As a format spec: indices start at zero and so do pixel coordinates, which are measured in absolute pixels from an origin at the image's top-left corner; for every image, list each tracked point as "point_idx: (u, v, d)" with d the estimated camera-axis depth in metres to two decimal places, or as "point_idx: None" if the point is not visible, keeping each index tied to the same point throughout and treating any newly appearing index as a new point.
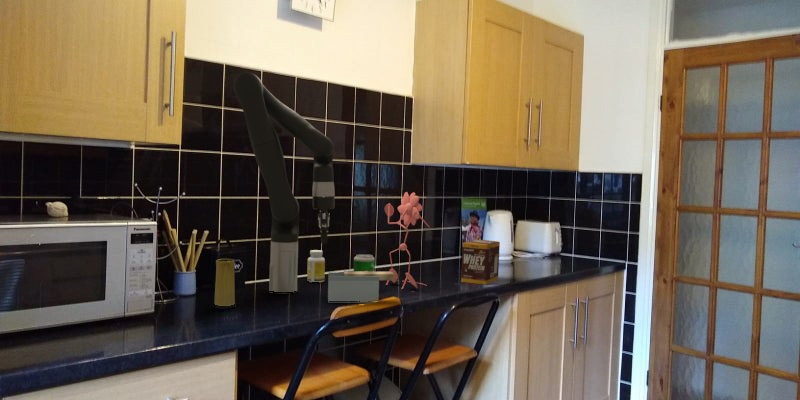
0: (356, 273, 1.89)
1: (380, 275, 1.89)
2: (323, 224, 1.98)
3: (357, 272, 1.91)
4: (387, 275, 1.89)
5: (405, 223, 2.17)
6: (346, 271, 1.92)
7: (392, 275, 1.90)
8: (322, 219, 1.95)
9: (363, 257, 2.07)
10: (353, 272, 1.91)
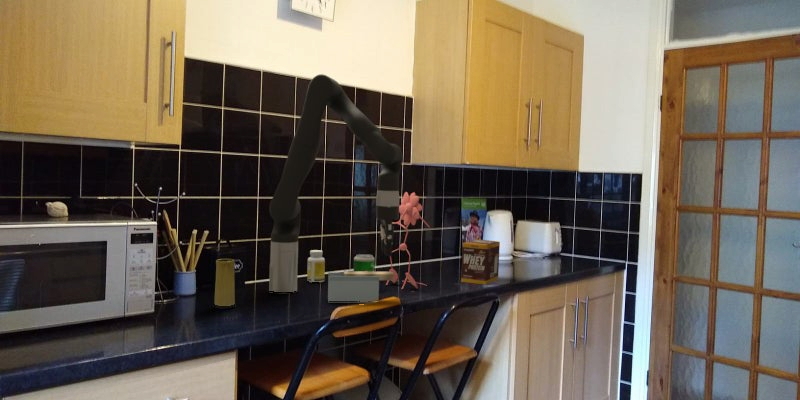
0: (356, 273, 1.89)
1: (380, 275, 1.89)
2: (388, 235, 1.87)
3: (357, 272, 1.91)
4: (387, 275, 1.89)
5: (405, 223, 2.17)
6: (346, 271, 1.92)
7: (392, 275, 1.90)
8: (388, 230, 1.84)
9: (363, 257, 2.07)
10: (353, 272, 1.91)
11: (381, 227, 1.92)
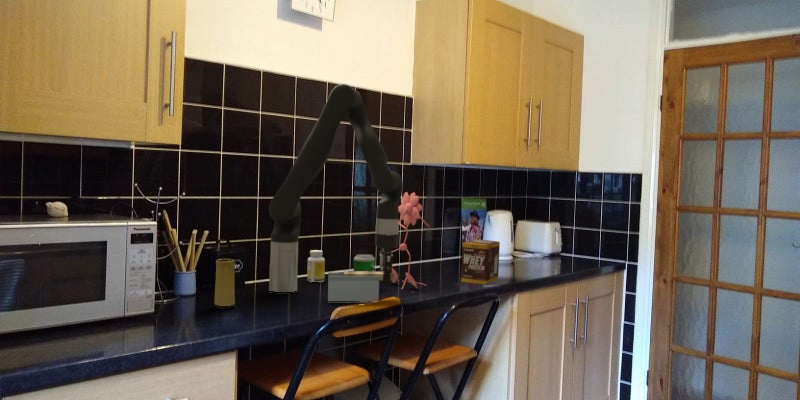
0: (356, 273, 1.89)
1: (380, 275, 1.89)
2: None
3: (357, 272, 1.91)
4: None
5: (405, 223, 2.17)
6: (346, 271, 1.92)
7: (392, 275, 1.90)
8: (386, 262, 1.85)
9: (363, 257, 2.07)
10: (353, 272, 1.91)
11: (380, 254, 1.92)
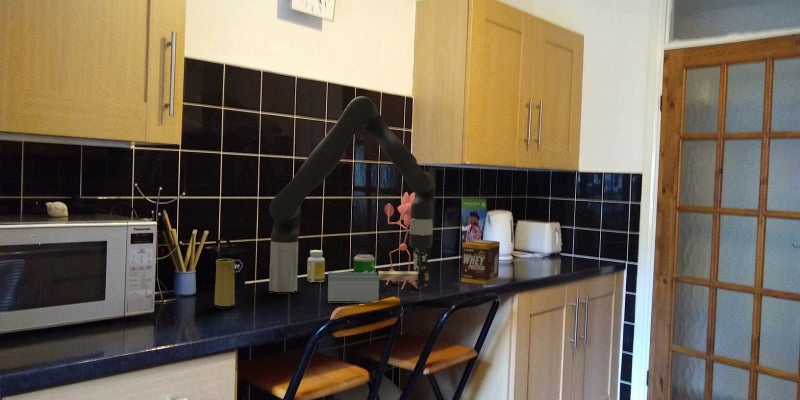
0: (391, 273, 1.91)
1: (415, 275, 1.91)
2: None
3: (392, 272, 1.93)
4: None
5: (405, 223, 2.17)
6: (380, 271, 1.94)
7: (426, 275, 1.91)
8: (422, 262, 1.87)
9: (363, 257, 2.07)
10: (388, 272, 1.92)
11: (414, 254, 1.94)
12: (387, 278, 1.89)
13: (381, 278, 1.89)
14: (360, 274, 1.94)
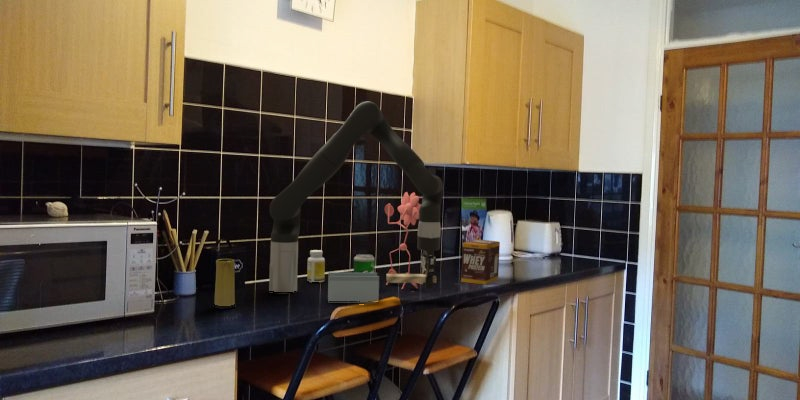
0: (399, 276, 1.91)
1: (423, 277, 1.91)
2: None
3: (399, 274, 1.93)
4: None
5: (405, 223, 2.17)
6: (388, 274, 1.94)
7: (434, 277, 1.92)
8: (430, 265, 1.87)
9: (363, 257, 2.07)
10: (396, 275, 1.93)
11: (422, 257, 1.94)
12: (395, 281, 1.90)
13: (389, 281, 1.90)
14: (360, 274, 1.94)
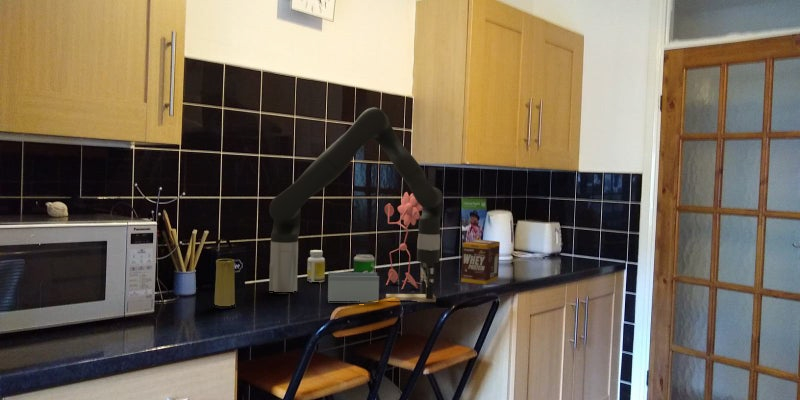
0: (398, 296, 1.92)
1: (422, 298, 1.92)
2: None
3: (399, 295, 1.94)
4: None
5: (405, 223, 2.17)
6: (388, 294, 1.95)
7: (434, 298, 1.92)
8: (430, 274, 1.87)
9: (363, 257, 2.07)
10: (395, 295, 1.93)
11: (422, 269, 1.94)
12: None
13: None
14: (360, 274, 1.94)
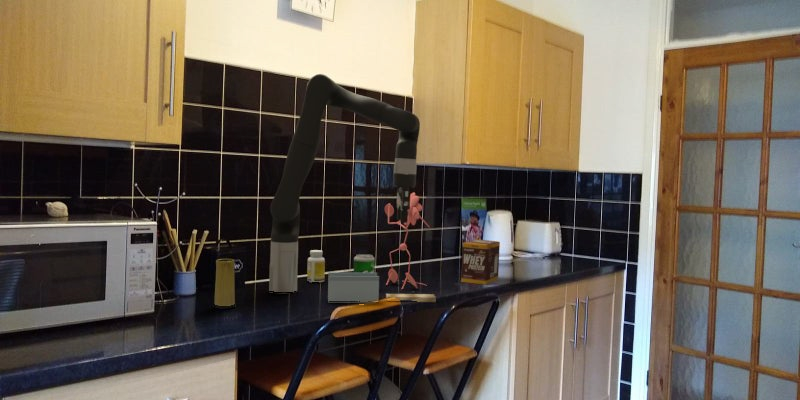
0: (398, 296, 1.92)
1: (422, 298, 1.91)
2: (404, 202, 1.91)
3: (399, 295, 1.94)
4: (429, 298, 1.92)
5: (405, 223, 2.17)
6: (388, 294, 1.95)
7: (434, 298, 1.92)
8: (404, 197, 1.88)
9: (363, 257, 2.07)
10: (395, 295, 1.93)
11: (397, 195, 1.95)
12: None
13: None
14: (360, 274, 1.94)
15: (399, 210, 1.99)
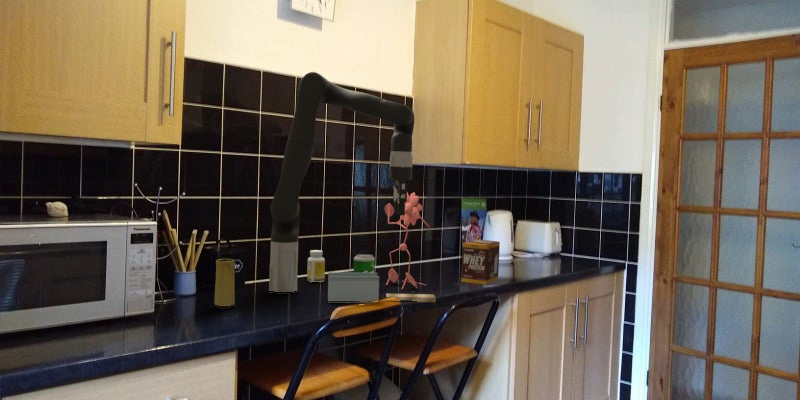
0: (398, 296, 1.92)
1: (422, 298, 1.91)
2: (401, 195, 1.91)
3: (399, 295, 1.94)
4: (428, 298, 1.92)
5: (405, 223, 2.17)
6: None
7: (433, 298, 1.92)
8: (401, 189, 1.88)
9: (363, 257, 2.07)
10: (395, 295, 1.94)
11: (394, 188, 1.96)
12: None
13: None
14: (360, 274, 1.94)
15: (396, 203, 1.99)
